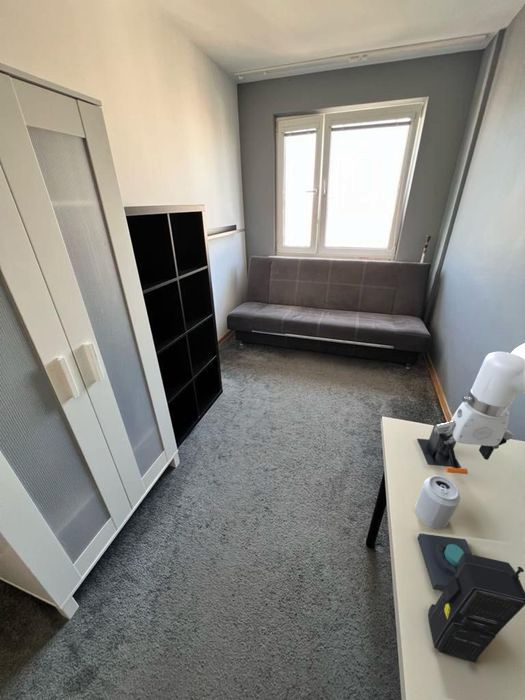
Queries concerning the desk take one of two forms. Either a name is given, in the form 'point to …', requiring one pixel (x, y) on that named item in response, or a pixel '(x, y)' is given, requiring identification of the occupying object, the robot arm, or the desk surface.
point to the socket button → (453, 554)
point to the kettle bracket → (435, 449)
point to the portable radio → (475, 606)
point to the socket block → (439, 558)
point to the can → (437, 502)
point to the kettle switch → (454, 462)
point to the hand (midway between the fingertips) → (462, 453)
